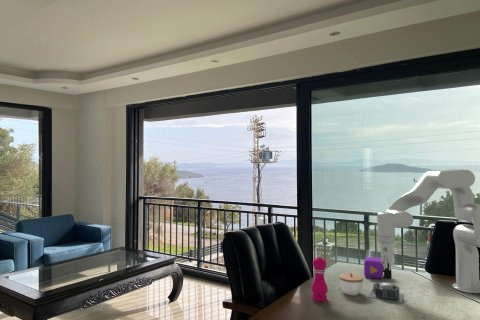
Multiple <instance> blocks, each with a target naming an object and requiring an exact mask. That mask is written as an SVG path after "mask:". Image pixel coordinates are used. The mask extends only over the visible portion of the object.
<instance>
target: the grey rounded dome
mask: <svg viewBox="0 0 480 320" xmlns="http://www.w3.org/2000/svg"><path fill="white" fill-rule="evenodd" d="M378 283H379V288H382V289H387V290H393V285H394V284H393V283H390V282H378Z"/></svg>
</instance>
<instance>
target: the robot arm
mask: <svg viewBox="0 0 480 320" xmlns="http://www.w3.org/2000/svg"><path fill="white" fill-rule="evenodd" d="M475 181H476V176H475V174H474V172H473V171H472V170H470V169H464V168H463V169H462V168H461V169H457V168H455V169H453V168H452V169H451V168H450V169H443V170H439V169H438V170H437V169H436V170H428V171H426V172H425V173H424V174H423V175H422V176H421V178H420V179H419V180H418V181H417V182H416V184H415V185H414V186H413V187H412V189H410V190H409V191H408V192H406V193H405V194H403V195H401V196H400V197H398V198H397V199H395V200H394V201H392V203H391V204H390V205H389V207H388V208H387V209H386V210H385V211H380V212H378V213H377V215H376V223H377V224H376V225H377V226H376V227H377V229H376V230H377V242H378V243H380V259H381V263H382V264H383V265H384V272H383V278H384V279H385V280H392V277H393V275H392V273H393V272H392V266H393V265H394V264H395V251H394V250H395V249H394V244H396V228H399V229H400V228H402V229H407V228H410V227H411V226H412V225H413V223H414V217H413V215H412V214H411V213H409V212H407V210H409V209H411V208H414V207H417V206H421V205H424V204H426V203H427V202H428V200H430V198H431V197H432V196H433V194H434V193H435V192H436V191H437V190H438V189H444V190H446V189H447V190H448V189H449V191H450V192H451V194H452V199H453V210H454V216H455V219H456V220H458V221H460V222H463V223H464V224H463V223H462V224H460V223H459V224H458V225H456V226H455V227H454V228H453V232H452V235H453V240H454V244H455V245H454V246H455V283H453V284H452V288H453V289H454V290H457V291H460V292H463V293H470V294H480V268H479V267H480V262H479V261H480V259H479V258H480V255H479V250H478V248H480V203H475V200H474V194H473V191H472V188H471V186H473V184H475ZM466 223H467V224H466ZM472 224H473V225H472Z"/></svg>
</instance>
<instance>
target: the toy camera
mask: <svg viewBox="0 0 480 320" xmlns="http://www.w3.org/2000/svg"><path fill="white" fill-rule="evenodd" d="M363 274H364V277H365V278H371V279H379V280H380V279H382V278H384V264H382V263H381V257H380V258H379V257H371V256H370V255H369V256H366V257H365V259H364V262H363Z"/></svg>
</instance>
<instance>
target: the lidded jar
mask: <svg viewBox="0 0 480 320" xmlns="http://www.w3.org/2000/svg"><path fill="white" fill-rule="evenodd" d="M339 285H340V288H341V291H343V292H344V294H345V295H348V296H358V295H359V294H360V292H361V291H362V290H363V285H364V277H362V275H359V274H356V273H353V272H350V273H341V274H339Z"/></svg>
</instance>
